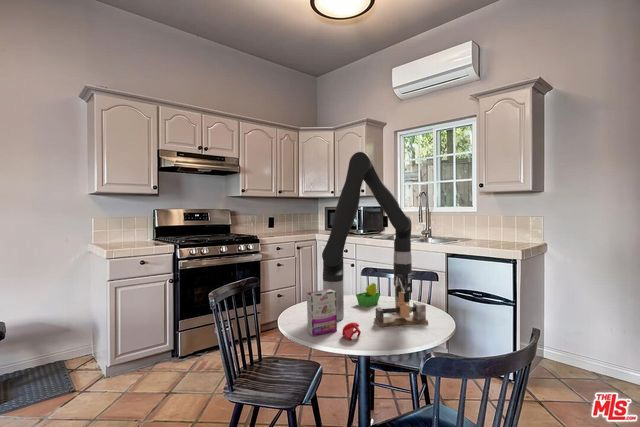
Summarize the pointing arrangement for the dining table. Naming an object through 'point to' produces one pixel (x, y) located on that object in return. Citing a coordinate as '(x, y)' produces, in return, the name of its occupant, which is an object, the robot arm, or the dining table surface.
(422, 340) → the dining table surface
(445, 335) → the dining table surface
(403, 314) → the sleeve
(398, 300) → the skincare box
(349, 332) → the red toy helmet
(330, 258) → the robot arm
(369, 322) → the dining table surface
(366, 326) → the dining table surface
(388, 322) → the rail
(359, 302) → the fruit basket
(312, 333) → the candy bar box
